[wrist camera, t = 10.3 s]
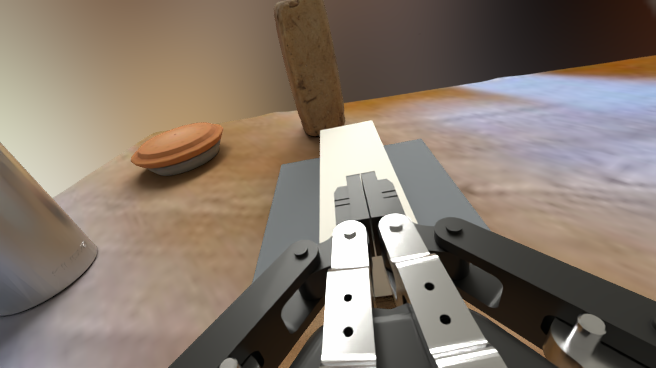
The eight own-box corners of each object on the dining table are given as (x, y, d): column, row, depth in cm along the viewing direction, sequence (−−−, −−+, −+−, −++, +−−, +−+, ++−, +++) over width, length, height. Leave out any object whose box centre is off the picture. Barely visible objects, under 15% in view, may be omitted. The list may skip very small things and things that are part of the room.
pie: (245, 138, 53) (236, 113, 51) (192, 183, 41) (176, 154, 39) (185, 142, 59) (174, 120, 56) (123, 183, 47) (104, 158, 44)
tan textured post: (350, 130, 46) (327, -13, 35) (307, 142, 45) (270, 0, 35) (334, 112, 55) (312, -6, 44) (298, 122, 54) (267, 4, 44)
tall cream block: (319, 243, 17) (320, 130, 32) (337, 302, 20) (330, 174, 35) (419, 228, 16) (371, 120, 31) (421, 290, 19) (377, 165, 34)
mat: (249, 305, 21) (247, 302, 21) (282, 167, 40) (281, 164, 40) (515, 268, 20) (515, 264, 20) (421, 141, 38) (421, 138, 38)
